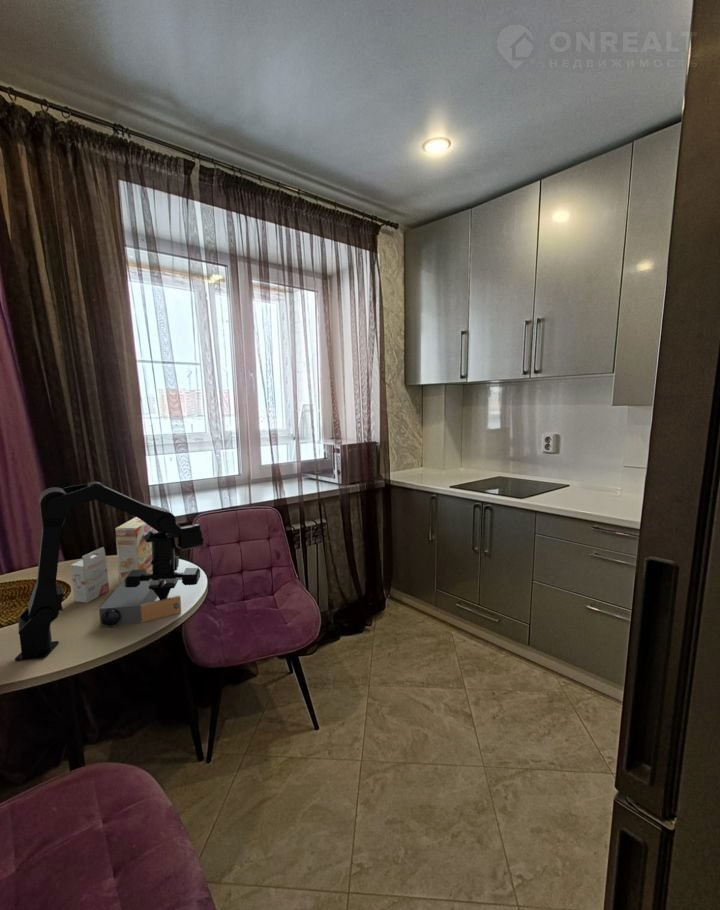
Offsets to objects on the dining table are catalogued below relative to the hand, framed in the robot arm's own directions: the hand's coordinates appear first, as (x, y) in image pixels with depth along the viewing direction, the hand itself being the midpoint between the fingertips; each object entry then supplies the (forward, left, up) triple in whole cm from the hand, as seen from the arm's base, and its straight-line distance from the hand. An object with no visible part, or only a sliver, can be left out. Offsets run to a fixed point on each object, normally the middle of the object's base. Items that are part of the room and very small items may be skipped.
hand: (164, 605), depth 119 cm
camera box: (+5, +10, -2) cm, 12 cm away
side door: (-3, 0, -2) cm, 4 cm away
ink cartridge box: (+14, +25, -3) cm, 29 cm away
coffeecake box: (+27, +15, -3) cm, 31 cm away
